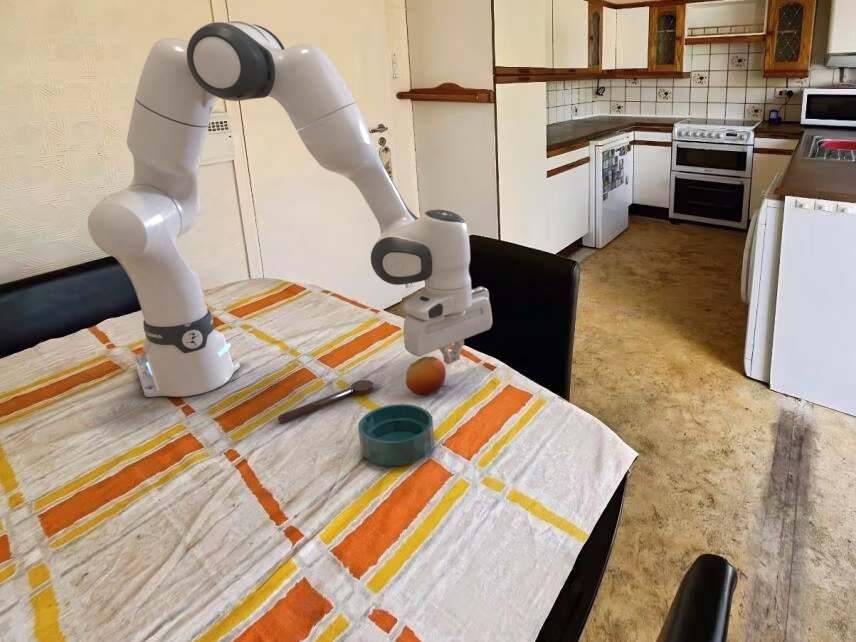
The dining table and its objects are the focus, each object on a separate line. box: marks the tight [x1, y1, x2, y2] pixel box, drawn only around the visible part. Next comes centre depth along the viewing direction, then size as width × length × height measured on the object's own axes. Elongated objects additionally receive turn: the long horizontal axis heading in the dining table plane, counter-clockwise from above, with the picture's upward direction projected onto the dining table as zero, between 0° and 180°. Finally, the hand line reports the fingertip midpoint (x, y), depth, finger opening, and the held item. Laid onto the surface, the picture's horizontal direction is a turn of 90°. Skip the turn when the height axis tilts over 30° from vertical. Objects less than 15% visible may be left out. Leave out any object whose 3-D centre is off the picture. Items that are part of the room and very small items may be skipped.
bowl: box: [357, 403, 435, 467], centre depth 105 cm, size 12×12×5 cm
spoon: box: [277, 379, 375, 424], centre depth 119 cm, size 4×20×2 cm, turn 135°
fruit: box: [405, 356, 447, 397], centre depth 122 cm, size 8×8×8 cm
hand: (452, 361), depth 126 cm, fingers closed
